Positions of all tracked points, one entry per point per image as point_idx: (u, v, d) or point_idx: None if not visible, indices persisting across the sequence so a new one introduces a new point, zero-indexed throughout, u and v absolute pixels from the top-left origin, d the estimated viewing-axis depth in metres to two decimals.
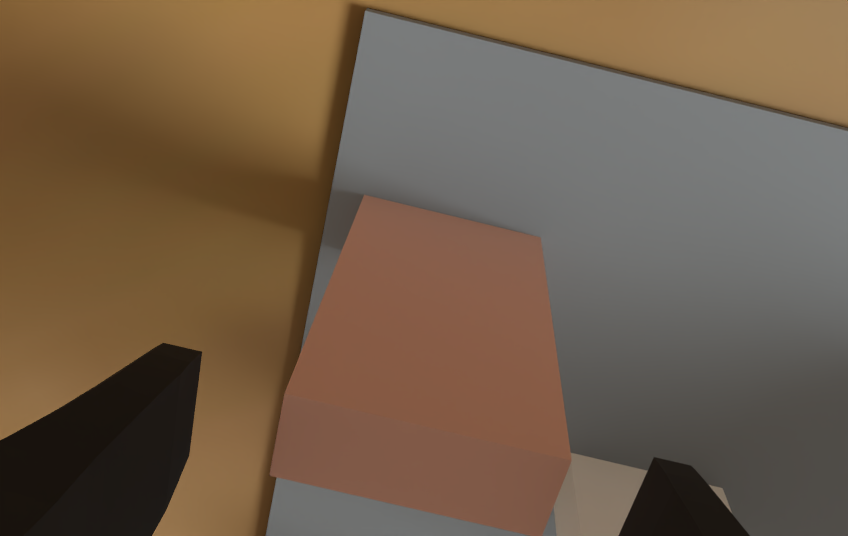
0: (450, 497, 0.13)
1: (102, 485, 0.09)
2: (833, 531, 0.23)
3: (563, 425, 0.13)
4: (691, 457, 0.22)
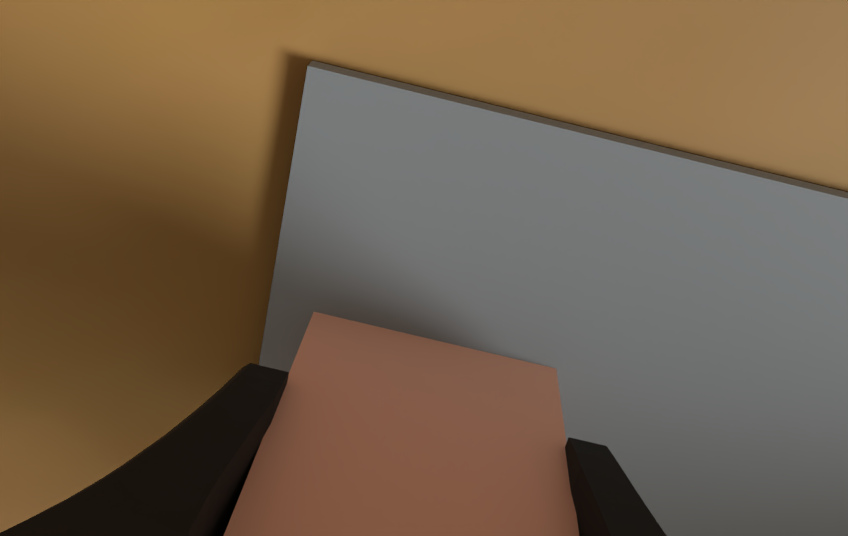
0: None
1: (216, 511, 0.09)
2: None
3: None
4: None
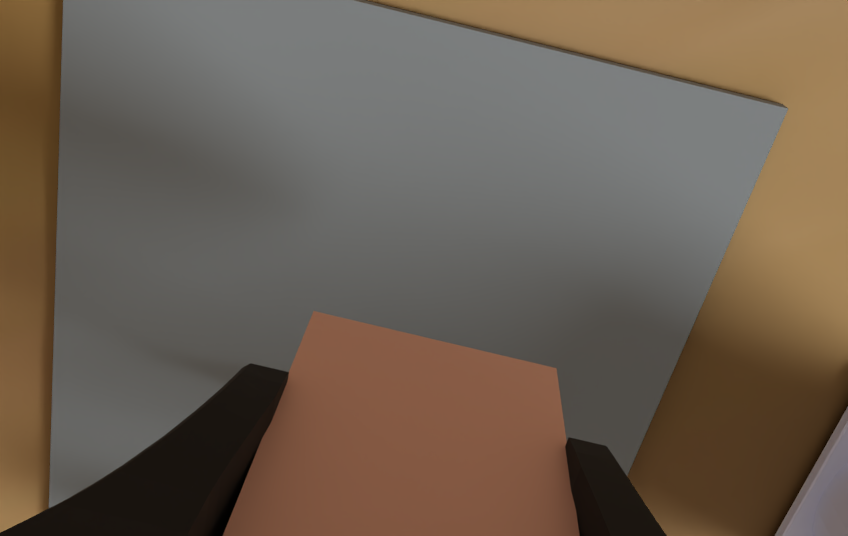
0: None
1: (216, 511, 0.09)
2: None
3: None
4: None
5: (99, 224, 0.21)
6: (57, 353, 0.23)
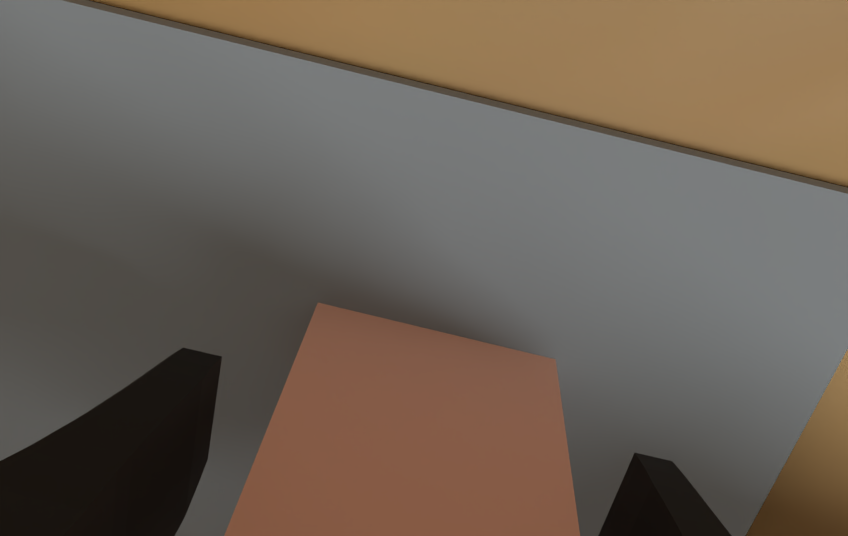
0: None
1: (128, 491, 0.09)
2: None
3: None
4: None
5: None
6: None
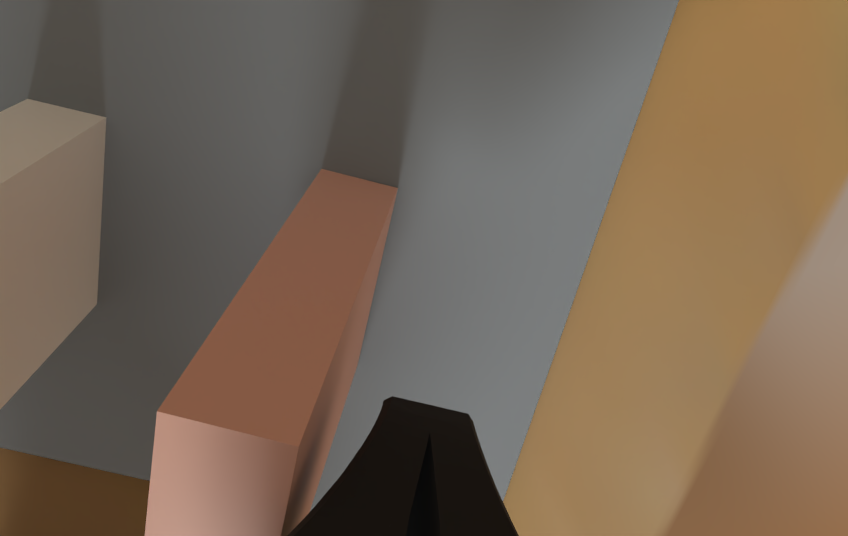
0: None
1: None
2: (67, 421, 0.20)
3: None
4: (133, 265, 0.18)
5: None
6: None
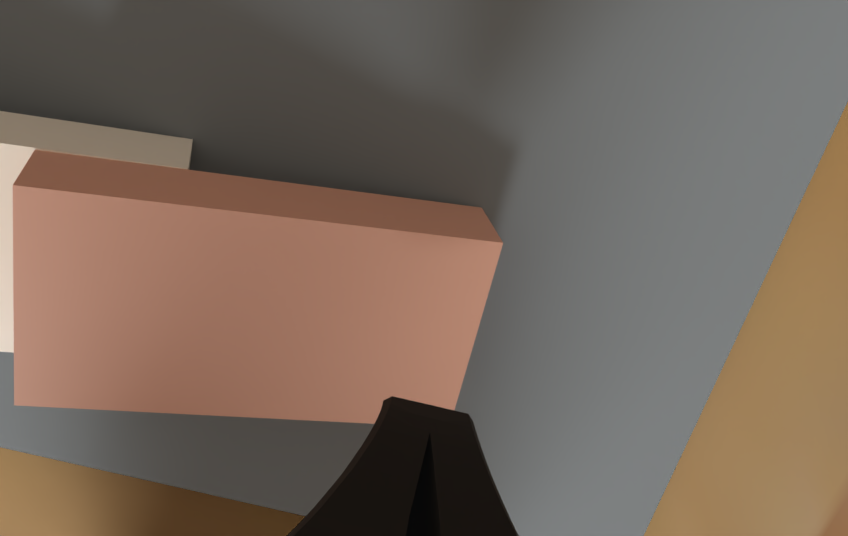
0: None
1: None
2: (212, 453, 0.20)
3: (64, 405, 0.15)
4: None
5: None
6: None
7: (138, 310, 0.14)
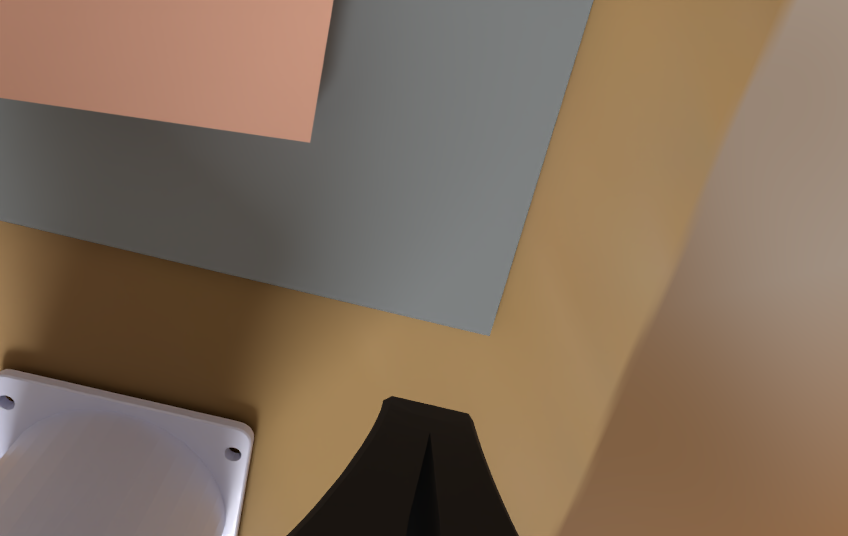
0: None
1: None
2: (110, 202, 0.22)
3: None
4: None
5: None
6: None
7: None
